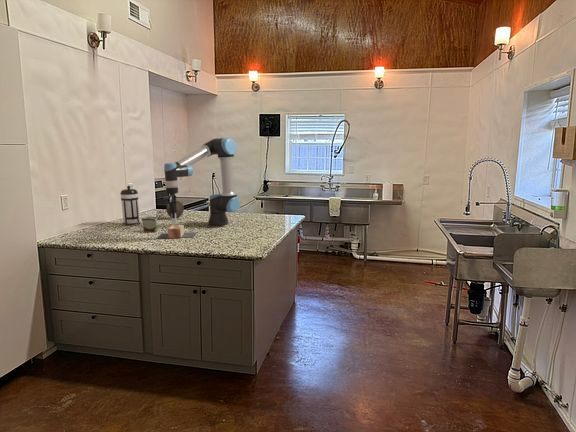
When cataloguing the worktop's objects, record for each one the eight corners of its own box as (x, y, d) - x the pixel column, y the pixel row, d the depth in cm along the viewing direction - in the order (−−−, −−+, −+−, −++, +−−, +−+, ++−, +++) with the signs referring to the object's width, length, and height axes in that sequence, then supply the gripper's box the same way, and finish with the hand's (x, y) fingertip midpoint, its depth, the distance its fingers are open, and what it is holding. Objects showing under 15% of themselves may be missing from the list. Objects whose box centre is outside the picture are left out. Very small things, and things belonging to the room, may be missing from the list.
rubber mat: (196, 232, 281) (196, 232, 281) (193, 237, 267) (193, 236, 267) (161, 233, 279) (161, 233, 279) (156, 238, 266) (156, 237, 265)
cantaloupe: (164, 218, 337) (163, 200, 334) (180, 216, 345) (179, 199, 342) (170, 220, 325) (169, 202, 323) (187, 218, 334) (186, 200, 331)
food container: (162, 230, 289) (161, 217, 288) (156, 232, 284) (155, 218, 282) (147, 229, 293) (146, 216, 292) (142, 231, 288) (141, 217, 286)
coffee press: (116, 225, 310) (112, 186, 304) (131, 221, 324) (128, 184, 319) (133, 227, 303) (130, 187, 298) (148, 223, 318) (145, 185, 312)
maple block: (180, 237, 265) (184, 233, 277) (180, 228, 264) (183, 225, 276) (168, 238, 265) (172, 233, 277) (167, 229, 264) (171, 225, 275)
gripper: (168, 186, 267) (170, 221, 271) (163, 188, 254) (166, 225, 258) (179, 185, 267) (181, 220, 271) (175, 188, 254) (178, 224, 259)
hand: (174, 222), depth 265 cm, fingers closed
